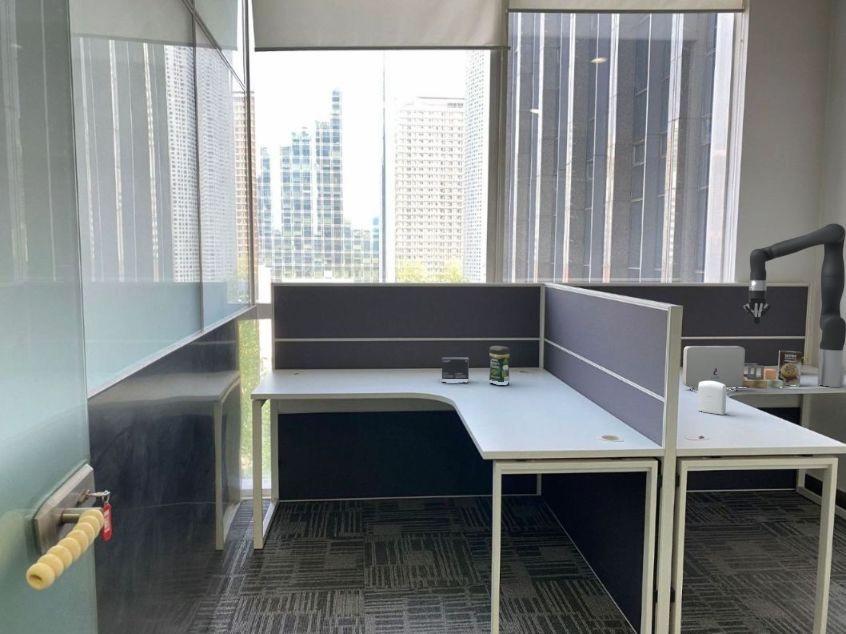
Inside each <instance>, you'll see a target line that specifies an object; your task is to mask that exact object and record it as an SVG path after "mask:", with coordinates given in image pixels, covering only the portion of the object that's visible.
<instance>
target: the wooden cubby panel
mask: <svg viewBox="0 0 846 634" xmlns="http://www.w3.org/2000/svg"><path fill="white" fill-rule="evenodd" d="M756 377H761V374H756ZM742 387H747V388H746V389H781V388H780V387H782V388H783V381H781V380H779V379H778V378H776V379H764V380H750V379H747V377H744V381H743V386H742Z"/></svg>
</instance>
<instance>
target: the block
mask: <svg viewBox="0 0 846 634" xmlns="http://www.w3.org/2000/svg"><path fill="white" fill-rule="evenodd" d="M777 377H778V369H773V368H764V379H777Z"/></svg>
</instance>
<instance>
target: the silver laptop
mask: <svg viewBox="0 0 846 634" xmlns="http://www.w3.org/2000/svg"><path fill="white" fill-rule="evenodd" d="M745 354H746V349H745V348H744V347H742V346H739V345H702V346H701V345H691V346H690V345H687V346H685V347H684V348H683V358H682V359H683V361H682V363H683V364H682V365H683V366H682V384H683V386H686V387H688V388H690V389H692V390H694V391H698V389H693V388H698V386H699V383H700V382H702V381H716V382H720V383H722V384H724V385H726V388H728V389H727V390H726V393H736V391H737V390H736V388H732V387H742V386H743V381H744V374H745V365H744V363H745ZM690 389H689V390H690ZM729 389H731V390H732V391H731V390H729ZM692 390H691V391H692ZM694 391H693V392H694Z"/></svg>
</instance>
